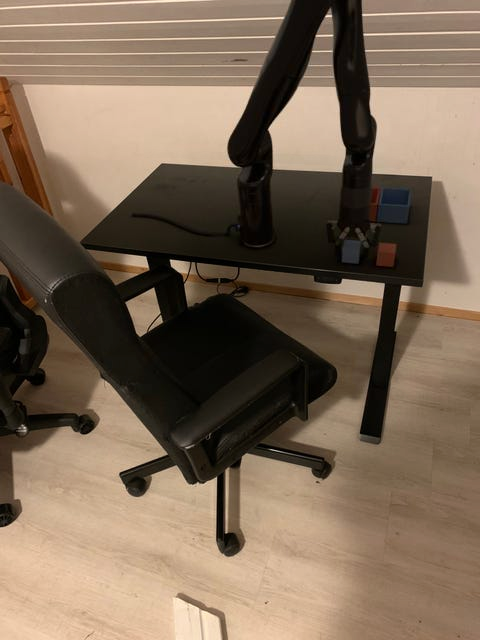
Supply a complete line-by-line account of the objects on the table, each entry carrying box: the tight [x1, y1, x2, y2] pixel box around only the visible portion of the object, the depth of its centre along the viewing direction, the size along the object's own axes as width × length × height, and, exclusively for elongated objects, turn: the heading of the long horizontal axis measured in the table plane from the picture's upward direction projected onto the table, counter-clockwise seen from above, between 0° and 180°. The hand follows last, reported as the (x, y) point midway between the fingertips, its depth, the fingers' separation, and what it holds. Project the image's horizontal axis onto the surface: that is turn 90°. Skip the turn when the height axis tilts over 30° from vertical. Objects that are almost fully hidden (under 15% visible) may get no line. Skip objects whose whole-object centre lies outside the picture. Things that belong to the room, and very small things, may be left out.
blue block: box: [341, 239, 362, 265], centre depth 125 cm, size 4×4×4 cm
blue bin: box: [376, 187, 412, 225], centre depth 141 cm, size 9×11×6 cm
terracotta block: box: [375, 242, 397, 268], centre depth 123 cm, size 4×4×4 cm
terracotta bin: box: [369, 186, 382, 222], centre depth 143 cm, size 9×11×6 cm
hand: (351, 256), depth 126 cm, fingers open, 6 cm apart
